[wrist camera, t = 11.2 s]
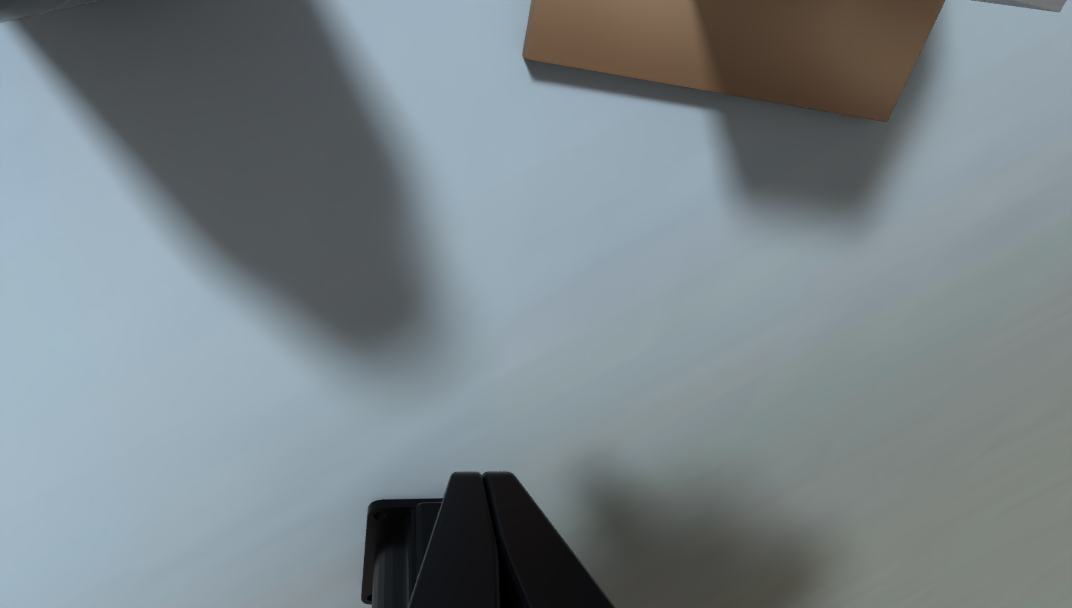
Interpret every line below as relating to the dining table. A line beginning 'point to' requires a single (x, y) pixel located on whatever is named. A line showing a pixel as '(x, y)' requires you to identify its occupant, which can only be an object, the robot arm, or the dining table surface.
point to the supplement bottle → (34, 7)
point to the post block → (745, 46)
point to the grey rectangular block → (1031, 4)
